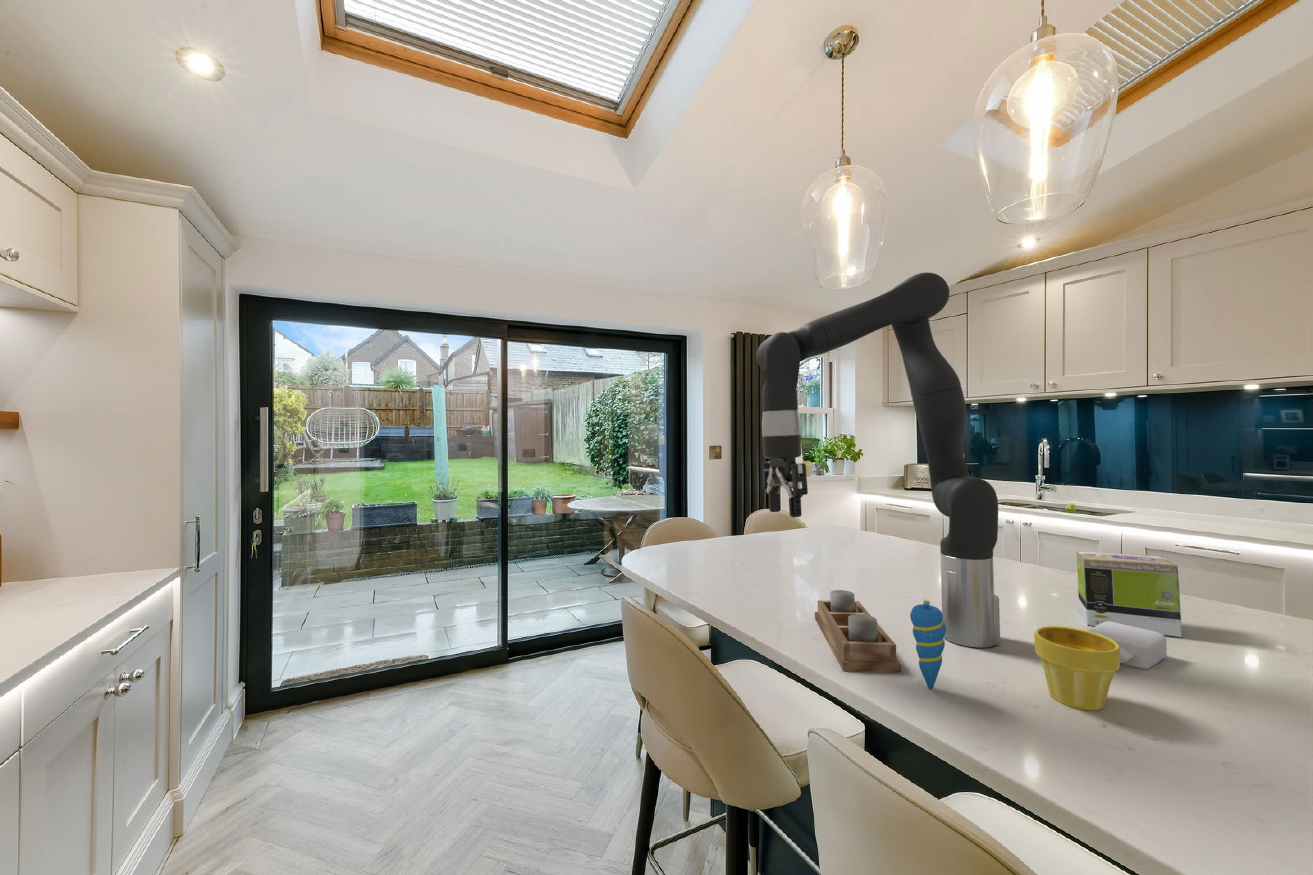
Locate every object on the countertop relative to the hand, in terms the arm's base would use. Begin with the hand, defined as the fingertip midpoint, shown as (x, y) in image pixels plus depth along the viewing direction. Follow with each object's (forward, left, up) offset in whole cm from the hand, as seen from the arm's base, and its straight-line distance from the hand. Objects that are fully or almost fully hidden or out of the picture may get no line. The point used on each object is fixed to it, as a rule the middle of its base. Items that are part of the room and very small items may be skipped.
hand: (784, 514), depth 103 cm
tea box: (-74, -17, -27) cm, 80 cm away
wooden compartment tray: (-13, -3, -27) cm, 30 cm away
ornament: (-21, +16, -27) cm, 37 cm away
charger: (-59, +2, -27) cm, 65 cm away
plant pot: (-42, +18, -27) cm, 53 cm away
